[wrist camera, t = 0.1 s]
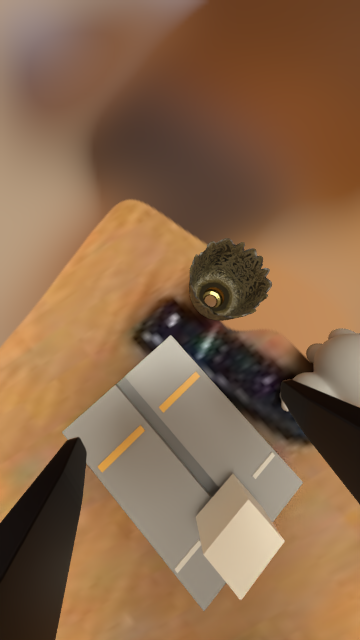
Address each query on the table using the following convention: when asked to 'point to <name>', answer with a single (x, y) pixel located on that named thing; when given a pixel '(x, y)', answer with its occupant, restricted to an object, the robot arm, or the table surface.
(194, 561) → the console board
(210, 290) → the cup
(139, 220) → the table surface
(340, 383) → the chubby cartoon animal
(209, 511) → the fader cap
